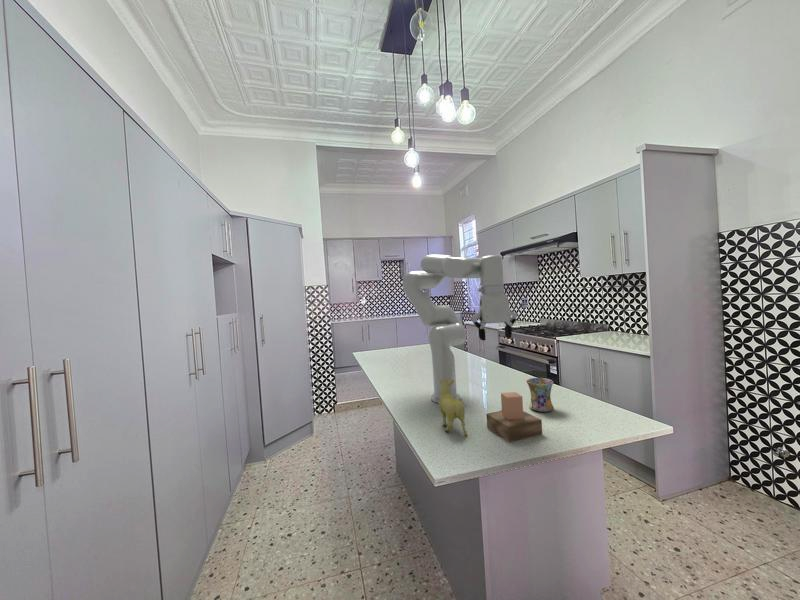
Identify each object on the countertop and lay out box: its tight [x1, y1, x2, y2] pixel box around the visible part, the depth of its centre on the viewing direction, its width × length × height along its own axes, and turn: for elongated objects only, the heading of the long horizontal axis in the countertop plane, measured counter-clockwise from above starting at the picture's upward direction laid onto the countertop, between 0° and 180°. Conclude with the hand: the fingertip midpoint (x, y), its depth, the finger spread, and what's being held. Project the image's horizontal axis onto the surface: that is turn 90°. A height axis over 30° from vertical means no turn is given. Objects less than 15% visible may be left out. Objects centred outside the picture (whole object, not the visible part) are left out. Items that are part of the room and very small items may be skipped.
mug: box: [526, 377, 554, 413], centre depth 123 cm, size 12×9×11 cm
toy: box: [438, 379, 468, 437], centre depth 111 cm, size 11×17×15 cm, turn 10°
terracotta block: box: [500, 391, 524, 420], centre depth 105 cm, size 5×5×7 cm
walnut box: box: [486, 410, 543, 443], centre depth 105 cm, size 12×12×5 cm
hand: (495, 338), depth 116 cm, fingers open, 9 cm apart
